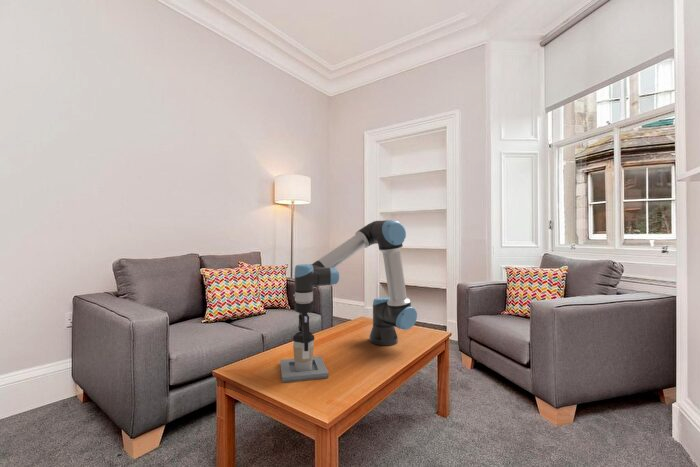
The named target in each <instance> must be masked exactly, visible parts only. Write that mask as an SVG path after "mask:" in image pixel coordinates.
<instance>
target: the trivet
mask: <svg viewBox="0 0 700 467" xmlns="http://www.w3.org/2000/svg"><path fill="white" fill-rule="evenodd" d="M279 366H280V376H281V382H282V383H291V382H301V381H310V380H321V379H329V371H328V368H327V366H326V365H325V363H324V359H323V358H322V356H320V355H319V356H313V360H312V369H311V370H310V371H303V372H298V371H296V370H295V360H294V358H286V359H285V358H284V359H283V358H282V359H280V360H279Z"/></svg>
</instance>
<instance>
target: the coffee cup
mask: <svg viewBox="0 0 700 467" xmlns="http://www.w3.org/2000/svg"><path fill="white" fill-rule="evenodd" d="M305 340H307V339H305ZM301 341H303V336H302V332H300V331H298V332H296V333H295V334H294V335H293V336H292V342H293V343H292V344H293V345H292V346H293V347H292V348H293V359H294V360H295V370H296V371H298V372H303V371H310V370H311V369H312V360H313V357H314V349H315V335H314V334H313V333H312V332H310V342H309V359H302V343H301Z"/></svg>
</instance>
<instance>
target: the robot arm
mask: <svg viewBox="0 0 700 467" xmlns="http://www.w3.org/2000/svg"><path fill="white" fill-rule="evenodd" d="M406 237H407V232H406V229H405V226H404V225H403V223H401V222H400V221H398V220H393V219H385V220H374V221H371V222H369V223H368V224H366V225H364V226H363V227H362V228H360V229H359V230H357V231H356V232H355V234H354V235H353V236H351V238H348V239H347V240H346V241H345V242H343V243H341V244H340V245H339V246H337V247H336V248H333V249H332V250H331V251H330V252H328V253H326V254H325V255H324V256H321V257H320V258H319V259H317V260H316V261H315V262H313V263H310V264H309V263H302V264H301V263H300V264H296V265H295V267H294V276H293V277H294V293H293V297H294V301H295V302H294V312H295V313H298V314H299V315H298V332H302V336H303V341H301V343H302V359H309V342H310V333H311V331H310V316H309V314H308V313H311V312H313V310H314V302H313V301H314V287H321V286H323V287H324V286H333V285H337V284H338V282H339V281H340V272H339V270H338V268H336V267H338V266H339V265H340V264H343V262H345V261H347V260H348V259H349V258H351V256H353V255H355V254H357V253H358V252H359V251H360V250H362V249H363V248H364V249H365V248H369V247H370V246H373V245H376V244H377V246H378V250H379V251H380V252H381V253H382V257H383V263H384V264H383V265H384V270H385V278H386V286H387V291H388V297H387V296H386V297H385V296H384V297H377V298H374V299H373V300H372V327H371V330H370V334H369V338H368V339H369V342H370V343H371V344H374V345H377V346H393V345H396V344H398V342H399V338H398V333H397V331H396V328H397V329H398V330H404V331H407V330H410V329H412V328H413V327H414V325H415V324H416V323H417V318H418V312H417V310H416V309H415V307H412V303H411V299H410V298H409V297H408V296H407V290H406V282H405V275H404V268H403V261H402V254H401V250H402V248H403V243H404V242H405V239H406ZM305 339H307V340H305Z"/></svg>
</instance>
